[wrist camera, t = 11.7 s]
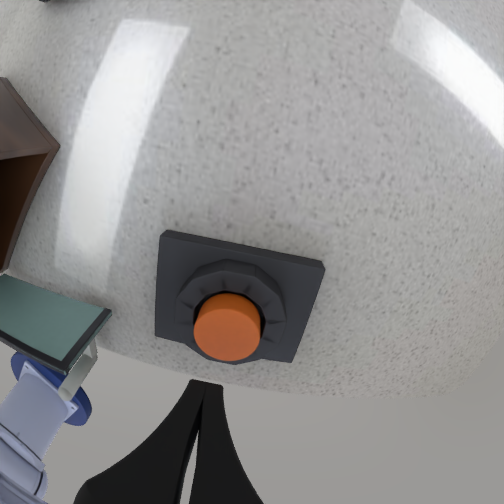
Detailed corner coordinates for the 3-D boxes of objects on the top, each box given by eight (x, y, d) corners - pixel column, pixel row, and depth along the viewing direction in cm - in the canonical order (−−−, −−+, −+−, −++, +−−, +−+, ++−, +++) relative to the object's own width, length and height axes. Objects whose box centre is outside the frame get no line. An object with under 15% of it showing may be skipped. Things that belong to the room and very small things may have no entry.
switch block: (159, 326, 20) (146, 351, 17) (166, 229, 17) (148, 244, 14) (290, 352, 20) (293, 379, 17) (321, 260, 17) (332, 281, 15)
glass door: (118, 359, 20) (84, 419, 13) (15, 318, 19) (-24, 355, 13) (111, 309, 18) (64, 370, 12) (4, 272, 18) (-44, 306, 11)
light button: (196, 336, 17) (190, 354, 15) (203, 286, 15) (196, 302, 14) (253, 347, 17) (252, 366, 15) (266, 299, 16) (266, 316, 14)
